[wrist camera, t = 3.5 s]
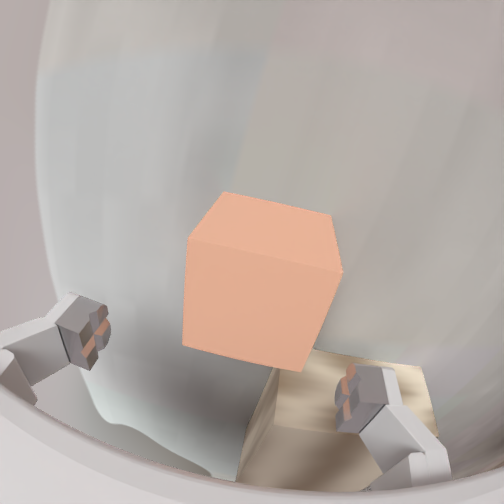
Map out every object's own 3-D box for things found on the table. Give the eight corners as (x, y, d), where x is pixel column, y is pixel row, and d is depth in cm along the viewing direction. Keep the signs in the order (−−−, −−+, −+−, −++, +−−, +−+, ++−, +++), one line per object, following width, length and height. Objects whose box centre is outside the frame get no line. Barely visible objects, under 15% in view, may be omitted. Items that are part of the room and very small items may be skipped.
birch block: (420, 364, 18) (439, 436, 12) (349, 441, 23) (350, 496, 18) (283, 339, 18) (273, 424, 13) (246, 426, 24) (234, 484, 19)
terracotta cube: (330, 215, 14) (343, 273, 9) (303, 300, 16) (300, 372, 12) (224, 191, 14) (188, 238, 9) (212, 279, 16) (182, 345, 12)
